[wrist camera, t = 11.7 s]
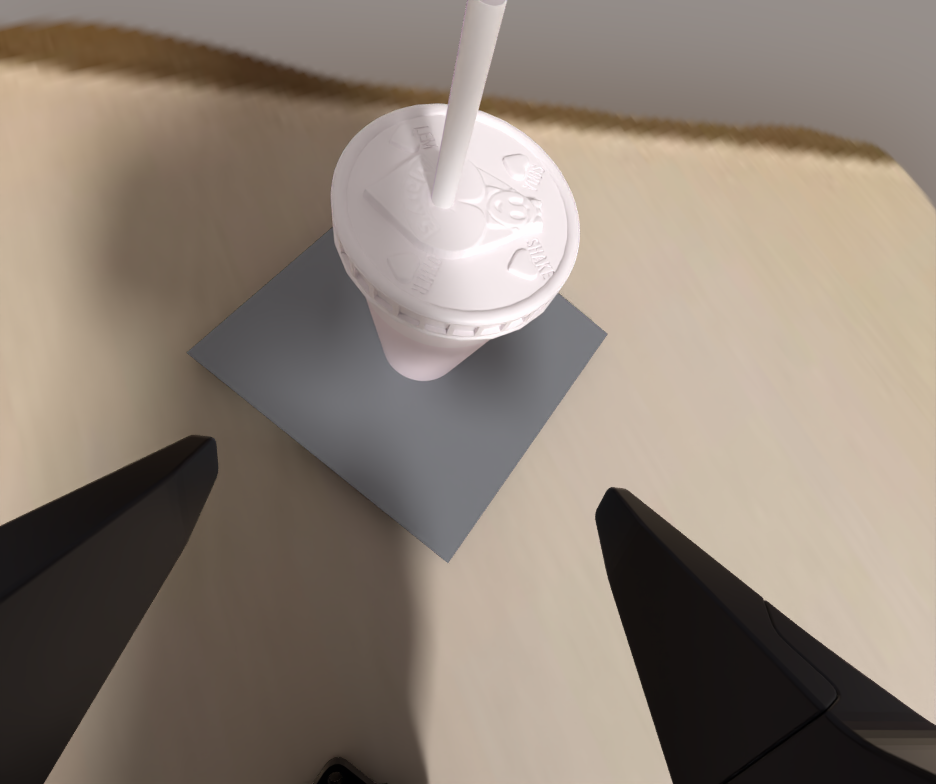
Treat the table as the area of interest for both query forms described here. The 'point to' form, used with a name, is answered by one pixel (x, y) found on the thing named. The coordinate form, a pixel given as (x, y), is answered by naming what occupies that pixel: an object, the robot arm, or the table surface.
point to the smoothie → (452, 219)
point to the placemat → (395, 394)
